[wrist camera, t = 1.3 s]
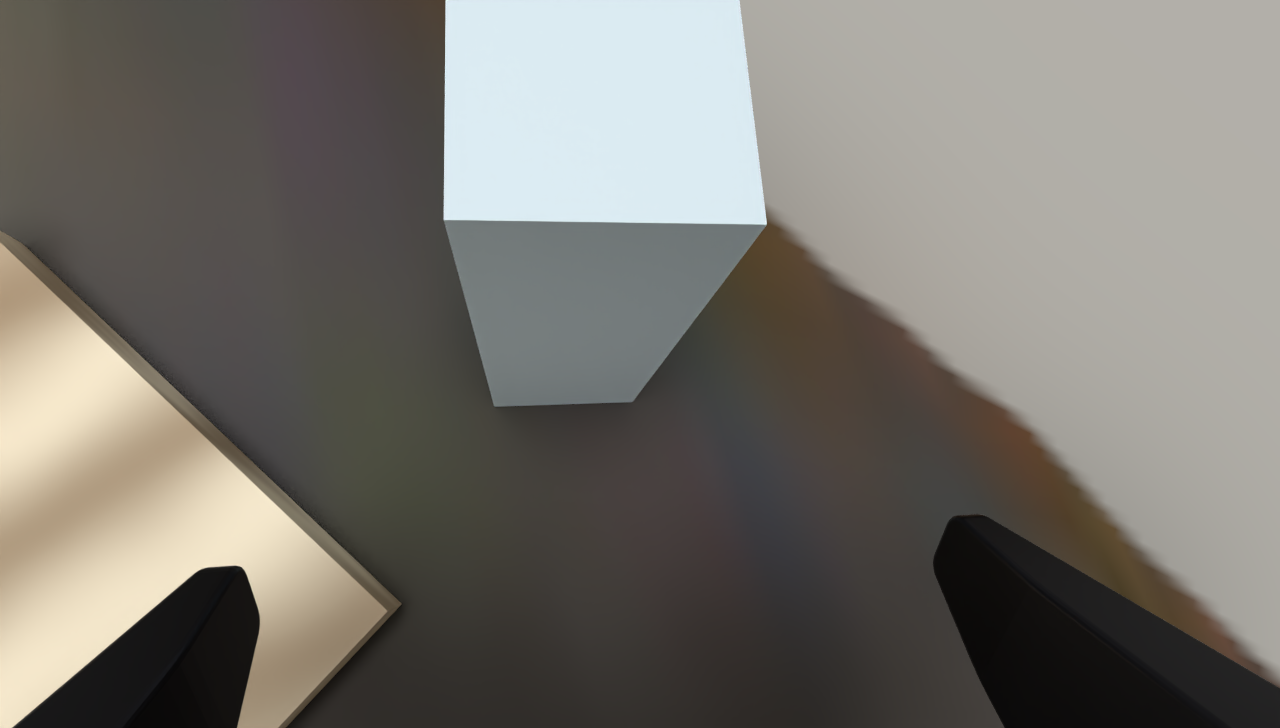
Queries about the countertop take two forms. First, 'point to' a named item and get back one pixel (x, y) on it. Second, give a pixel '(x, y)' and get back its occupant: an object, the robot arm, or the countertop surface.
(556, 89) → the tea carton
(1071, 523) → the countertop surface
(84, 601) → the shelf board
